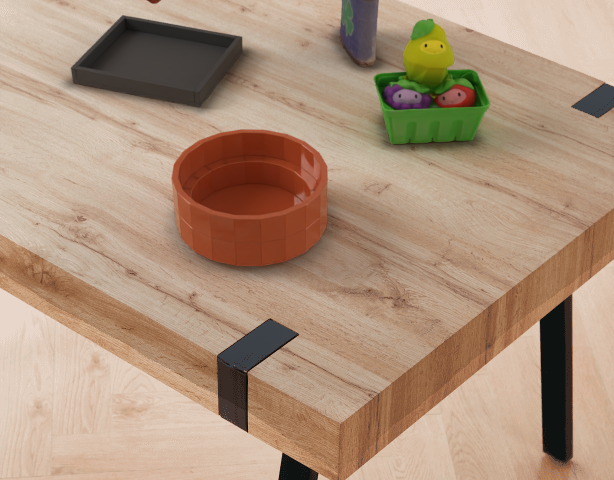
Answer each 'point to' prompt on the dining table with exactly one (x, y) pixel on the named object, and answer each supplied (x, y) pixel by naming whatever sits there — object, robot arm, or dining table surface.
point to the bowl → (250, 197)
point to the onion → (154, 1)
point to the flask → (359, 30)
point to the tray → (158, 60)
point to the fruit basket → (430, 92)
